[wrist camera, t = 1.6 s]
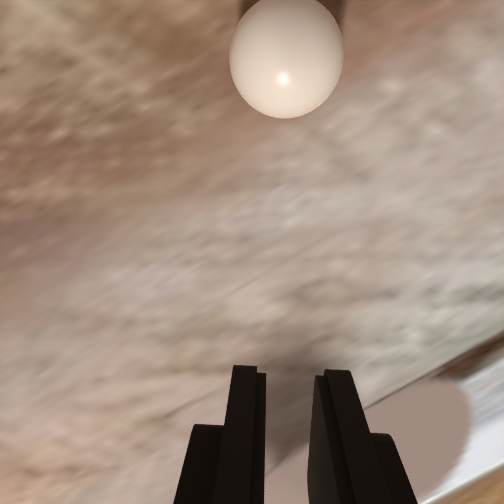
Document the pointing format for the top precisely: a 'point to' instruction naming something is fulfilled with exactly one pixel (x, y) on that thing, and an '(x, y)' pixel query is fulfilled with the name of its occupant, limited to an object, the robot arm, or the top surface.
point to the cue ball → (286, 56)
